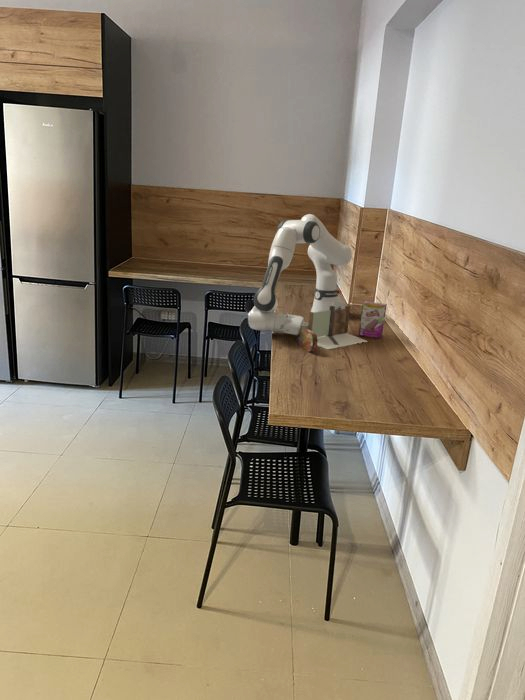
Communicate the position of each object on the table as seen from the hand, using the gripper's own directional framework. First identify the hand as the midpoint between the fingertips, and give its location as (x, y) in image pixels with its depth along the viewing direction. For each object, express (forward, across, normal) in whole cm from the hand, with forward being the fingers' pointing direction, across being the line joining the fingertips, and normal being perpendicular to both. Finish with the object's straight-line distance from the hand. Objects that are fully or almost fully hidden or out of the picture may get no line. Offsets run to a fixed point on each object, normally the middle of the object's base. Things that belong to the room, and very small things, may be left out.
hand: (311, 326), depth 245 cm
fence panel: (+3, +1, +5) cm, 6 cm away
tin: (0, -15, +6) cm, 16 cm away
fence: (+12, +12, +5) cm, 18 cm away
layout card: (+10, +3, +6) cm, 12 cm away
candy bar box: (+28, +16, +6) cm, 33 cm away
